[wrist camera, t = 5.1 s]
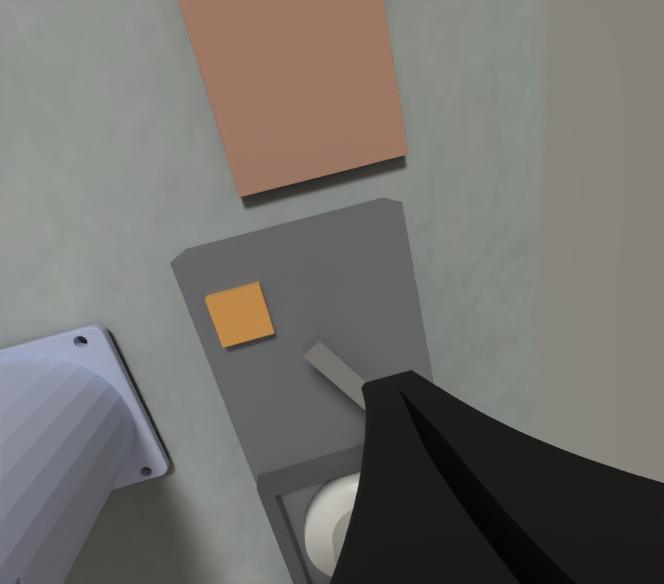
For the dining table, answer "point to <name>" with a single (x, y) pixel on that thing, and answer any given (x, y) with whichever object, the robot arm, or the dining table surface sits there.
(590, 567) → the robot arm
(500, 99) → the dining table surface
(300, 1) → the mat
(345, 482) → the plug
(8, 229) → the dining table surface
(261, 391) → the power strip
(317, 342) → the clip
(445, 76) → the dining table surface
